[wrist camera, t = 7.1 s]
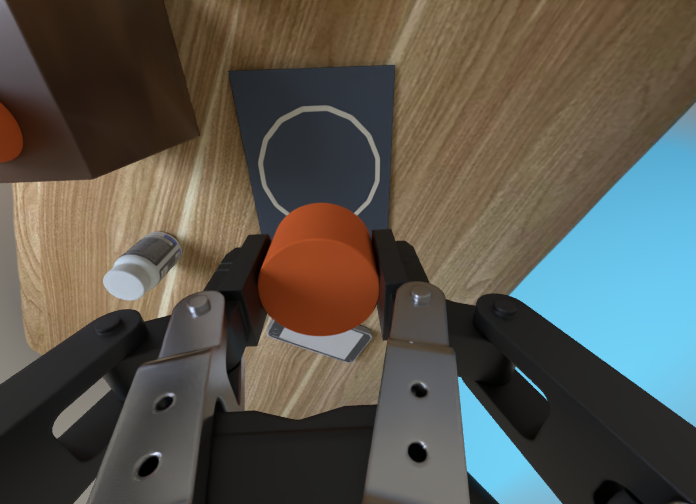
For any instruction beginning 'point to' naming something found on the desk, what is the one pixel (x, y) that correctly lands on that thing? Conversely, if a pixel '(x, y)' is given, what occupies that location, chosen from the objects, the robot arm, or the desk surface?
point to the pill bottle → (143, 266)
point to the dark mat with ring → (317, 139)
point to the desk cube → (90, 86)
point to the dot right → (320, 271)
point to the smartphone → (325, 341)
